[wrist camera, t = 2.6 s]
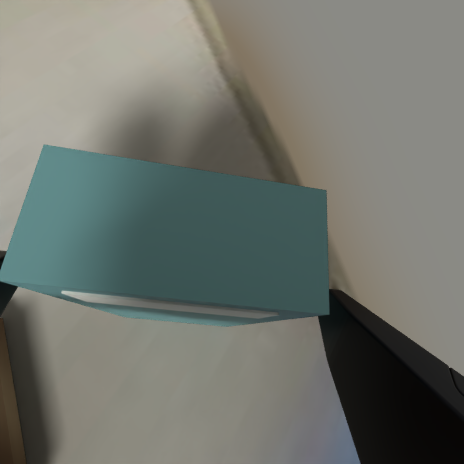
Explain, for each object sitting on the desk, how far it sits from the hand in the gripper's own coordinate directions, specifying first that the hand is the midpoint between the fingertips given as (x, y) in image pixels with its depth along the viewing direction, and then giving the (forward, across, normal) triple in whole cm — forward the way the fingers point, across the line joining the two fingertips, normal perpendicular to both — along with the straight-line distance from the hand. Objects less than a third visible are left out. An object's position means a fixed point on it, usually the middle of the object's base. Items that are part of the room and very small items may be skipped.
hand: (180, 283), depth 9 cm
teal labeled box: (+6, 0, +6) cm, 8 cm away
